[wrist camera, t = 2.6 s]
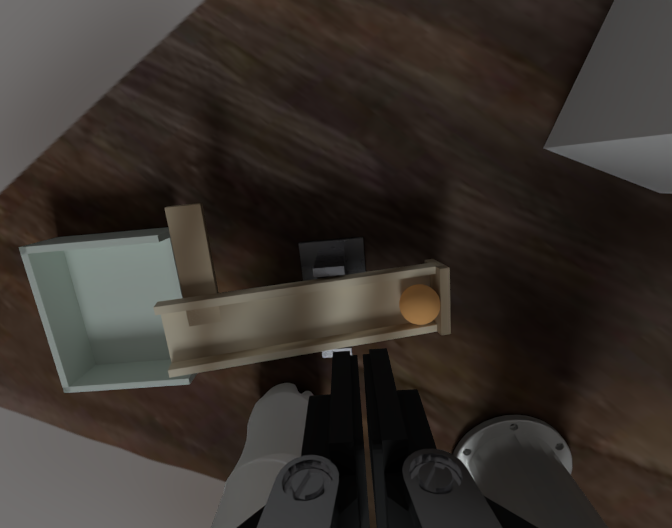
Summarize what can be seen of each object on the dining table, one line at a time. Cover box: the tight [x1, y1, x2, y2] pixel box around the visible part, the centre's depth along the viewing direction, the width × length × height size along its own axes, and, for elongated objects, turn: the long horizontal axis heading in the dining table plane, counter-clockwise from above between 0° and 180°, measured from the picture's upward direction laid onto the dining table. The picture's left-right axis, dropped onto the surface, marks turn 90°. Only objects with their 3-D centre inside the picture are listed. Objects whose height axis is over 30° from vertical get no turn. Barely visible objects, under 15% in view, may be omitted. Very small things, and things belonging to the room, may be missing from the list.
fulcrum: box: [299, 237, 366, 358], centre depth 34 cm, size 6×9×7 cm, turn 5°
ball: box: [399, 284, 440, 325], centre depth 30 cm, size 3×3×3 cm
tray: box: [19, 227, 197, 393], centre depth 36 cm, size 14×12×4 cm
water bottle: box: [211, 383, 313, 528], centre depth 29 cm, size 7×7×25 cm
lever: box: [153, 203, 451, 378], centre depth 29 cm, size 22×12×3 cm, turn 95°
